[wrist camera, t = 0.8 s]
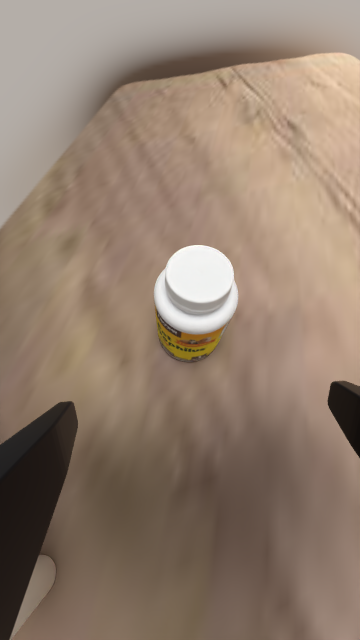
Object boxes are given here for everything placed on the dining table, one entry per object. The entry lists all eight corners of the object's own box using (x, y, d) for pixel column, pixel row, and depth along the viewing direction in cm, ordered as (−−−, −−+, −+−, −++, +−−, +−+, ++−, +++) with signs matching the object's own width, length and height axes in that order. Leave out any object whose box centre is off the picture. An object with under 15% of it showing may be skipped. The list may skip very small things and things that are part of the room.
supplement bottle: (147, 347, 24) (132, 290, 14) (174, 298, 26) (176, 220, 16) (204, 374, 23) (227, 332, 13) (227, 322, 25) (261, 253, 15)
